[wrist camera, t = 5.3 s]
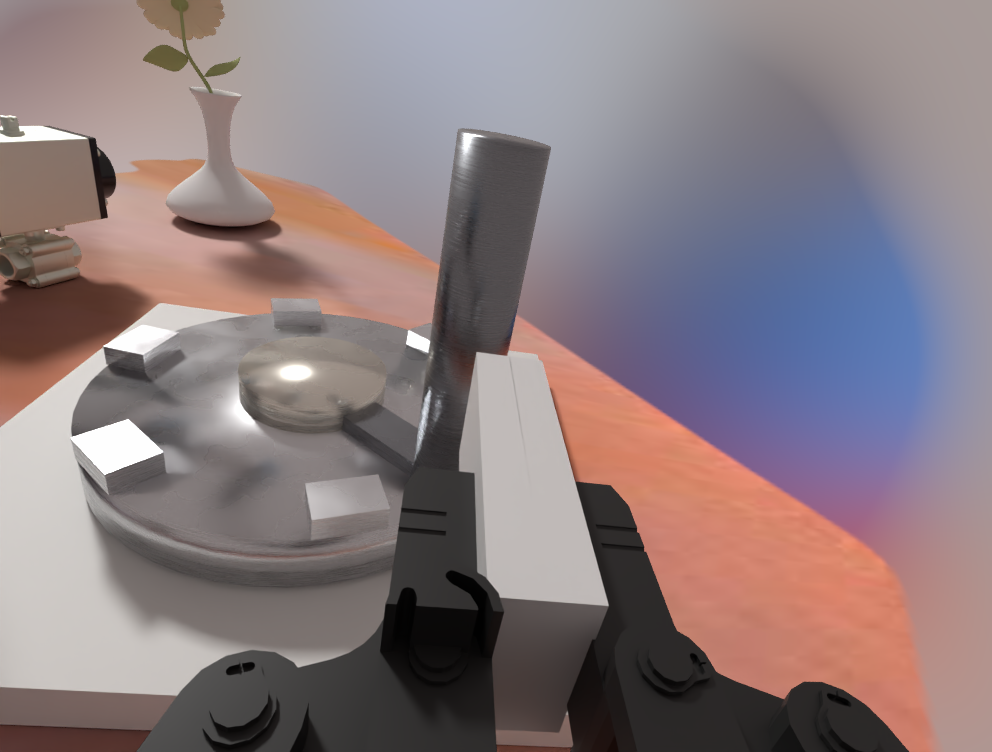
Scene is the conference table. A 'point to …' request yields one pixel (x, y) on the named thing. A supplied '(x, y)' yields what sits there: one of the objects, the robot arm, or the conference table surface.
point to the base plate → (137, 591)
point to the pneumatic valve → (47, 199)
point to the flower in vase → (206, 123)
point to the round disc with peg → (306, 406)
